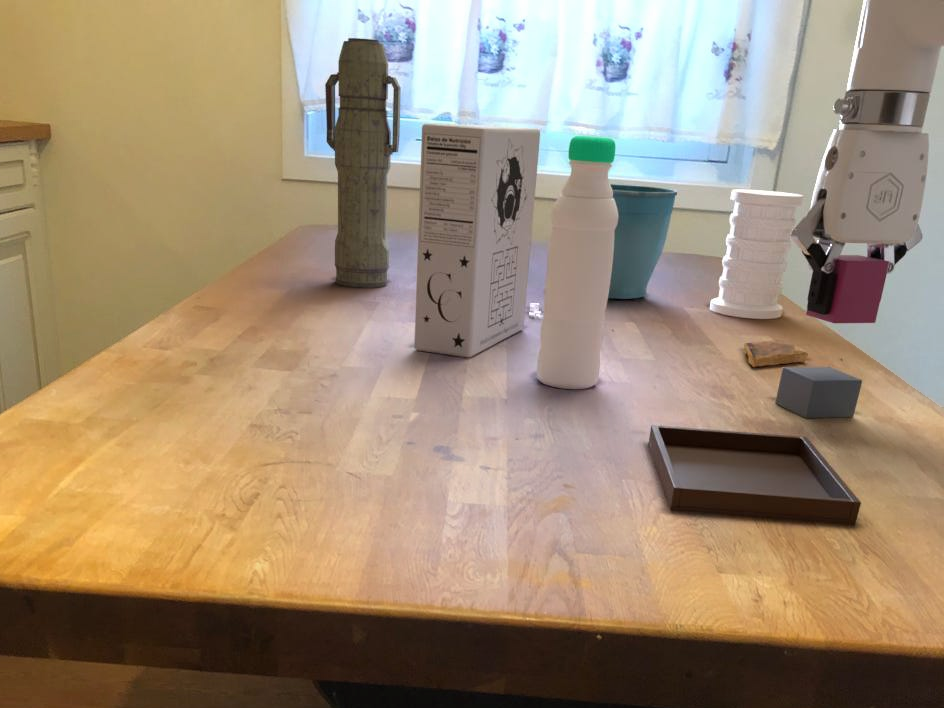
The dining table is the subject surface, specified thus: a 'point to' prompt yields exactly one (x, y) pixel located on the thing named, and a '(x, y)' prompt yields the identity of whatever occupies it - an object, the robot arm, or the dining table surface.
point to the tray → (749, 476)
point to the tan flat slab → (773, 353)
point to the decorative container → (756, 254)
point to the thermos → (362, 160)
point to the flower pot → (638, 237)
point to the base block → (818, 392)
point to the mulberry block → (856, 290)
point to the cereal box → (473, 235)
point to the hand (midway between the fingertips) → (841, 310)
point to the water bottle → (579, 268)
